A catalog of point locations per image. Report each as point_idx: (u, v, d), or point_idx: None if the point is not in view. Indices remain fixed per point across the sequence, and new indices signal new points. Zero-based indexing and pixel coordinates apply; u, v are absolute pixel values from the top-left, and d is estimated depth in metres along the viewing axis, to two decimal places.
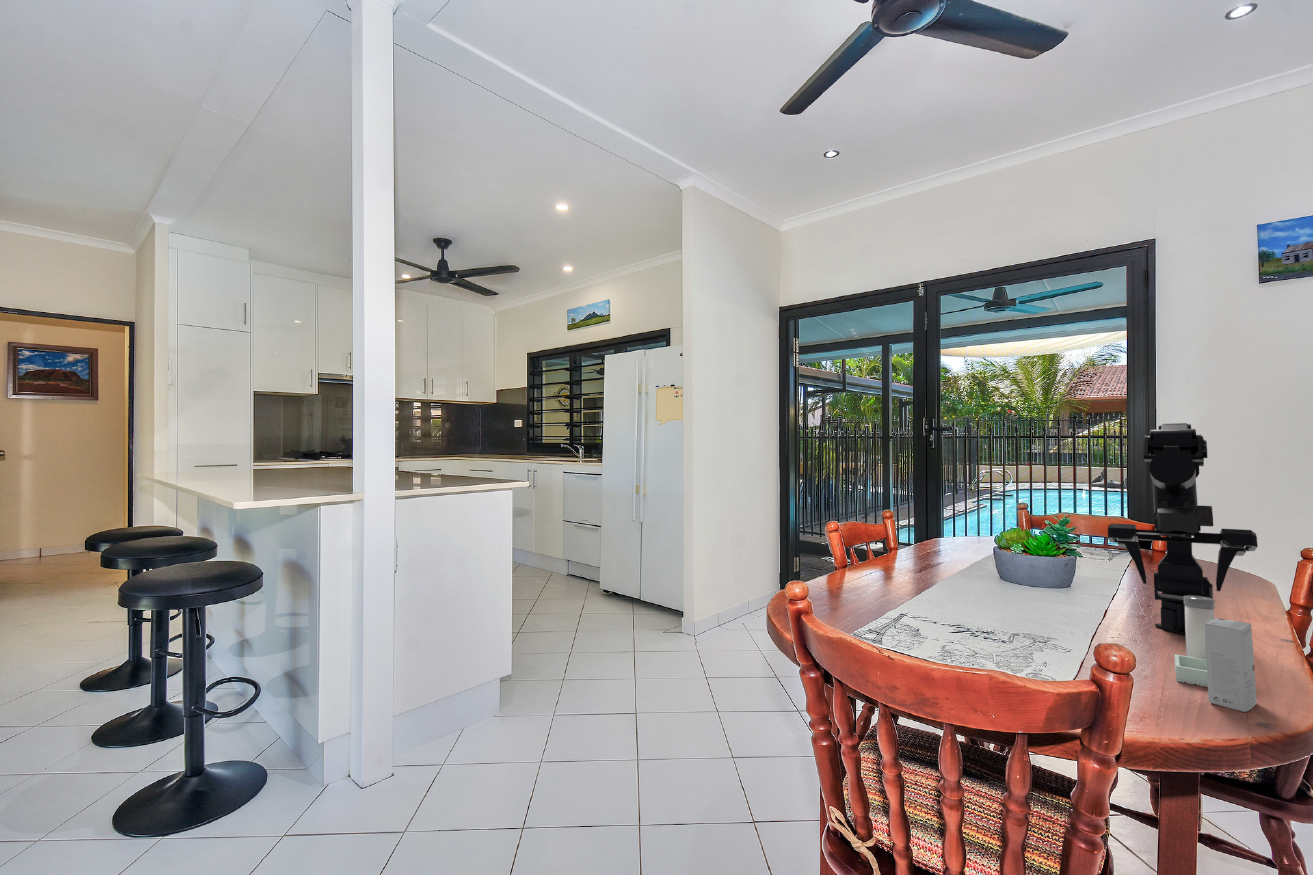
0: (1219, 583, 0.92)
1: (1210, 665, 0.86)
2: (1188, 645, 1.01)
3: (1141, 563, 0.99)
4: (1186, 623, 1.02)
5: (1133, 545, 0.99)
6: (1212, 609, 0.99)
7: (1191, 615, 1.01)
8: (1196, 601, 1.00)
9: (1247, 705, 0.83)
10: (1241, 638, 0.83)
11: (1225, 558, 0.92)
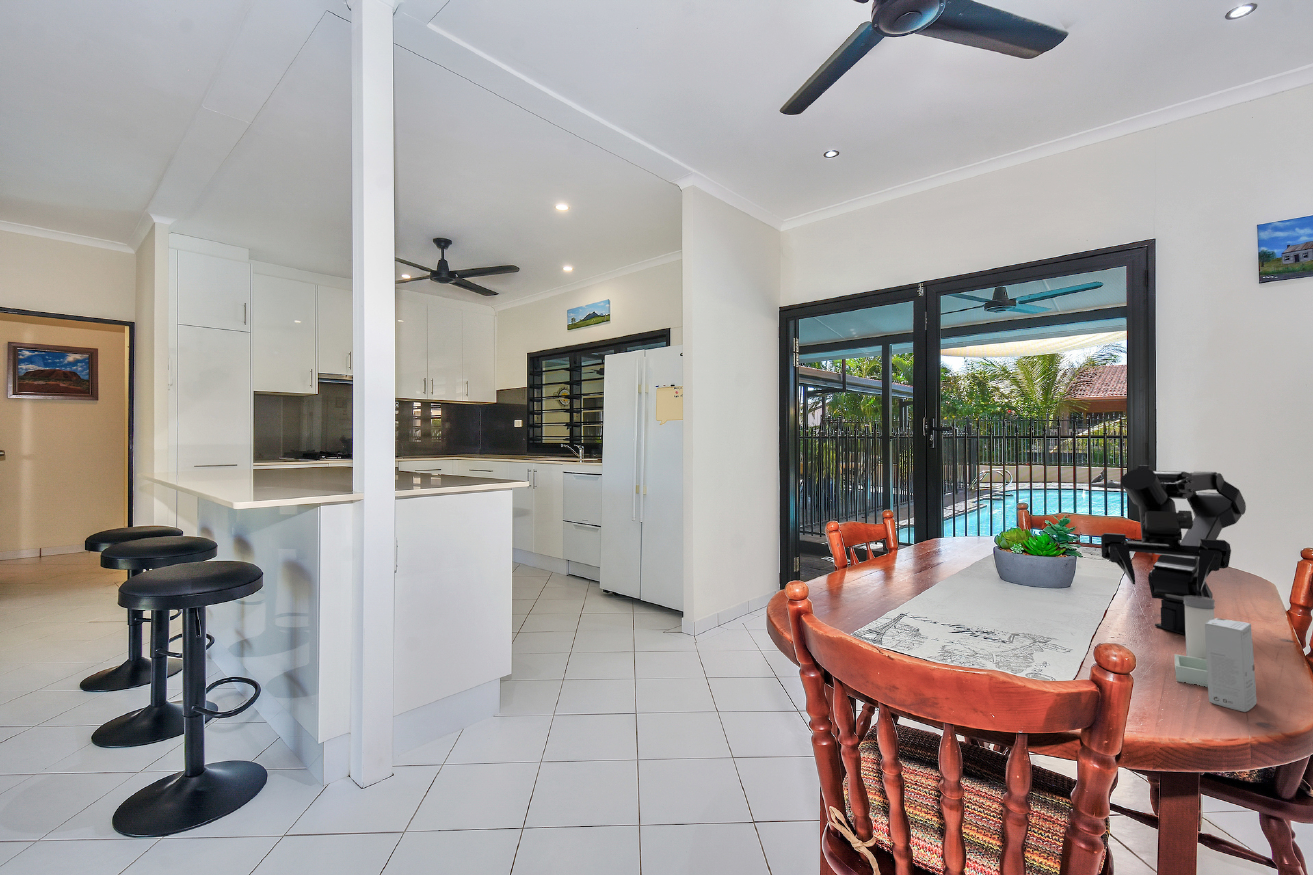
0: (1200, 582, 1.03)
1: (1210, 665, 0.86)
2: (1188, 645, 1.01)
3: (1130, 565, 1.10)
4: (1186, 623, 1.02)
5: (1123, 548, 1.12)
6: (1212, 609, 0.99)
7: (1191, 615, 1.01)
8: (1196, 601, 1.00)
9: (1247, 705, 0.83)
10: (1241, 638, 0.83)
11: (1204, 561, 1.04)
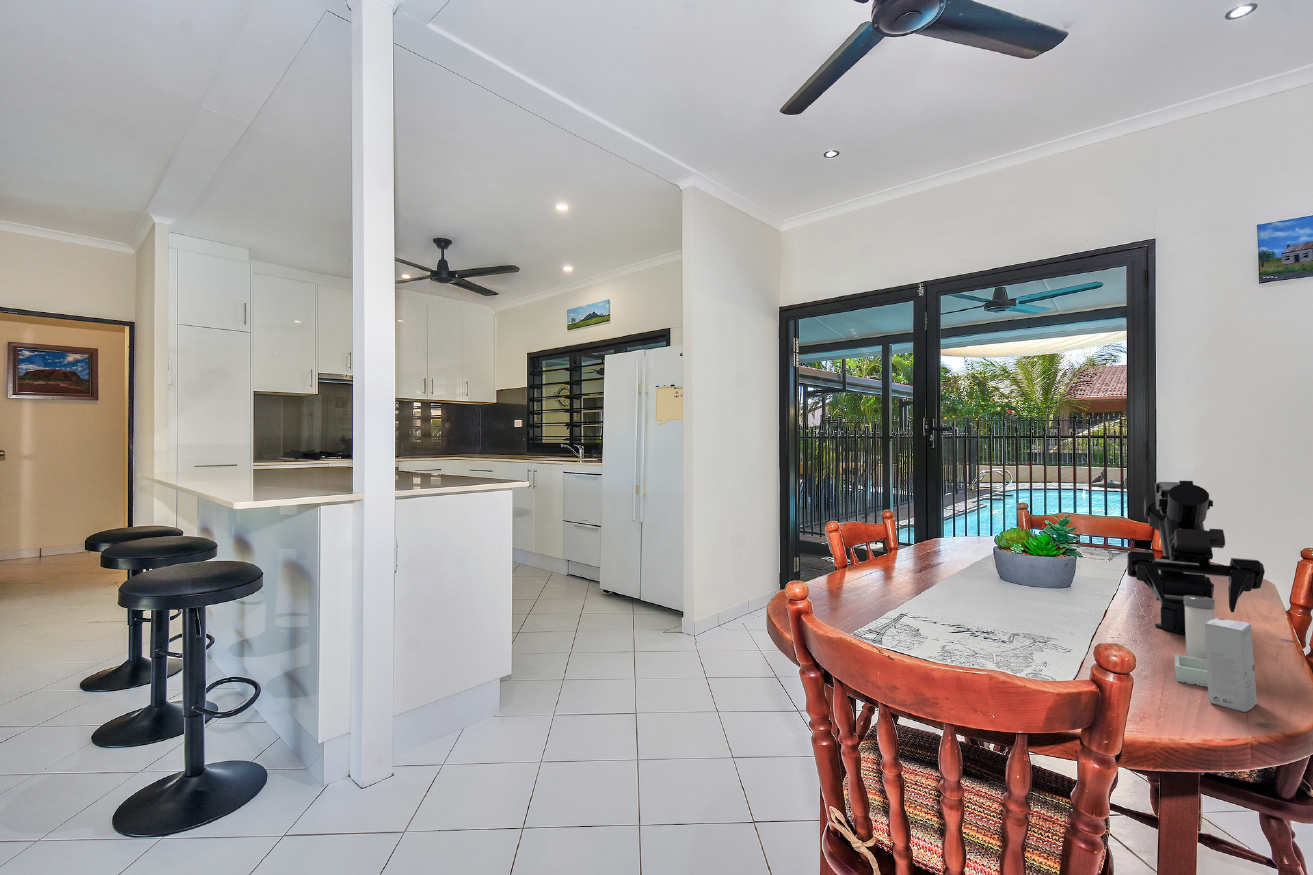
0: (1233, 602, 1.00)
1: (1210, 665, 0.86)
2: (1188, 645, 1.01)
3: (1159, 584, 1.07)
4: (1186, 623, 1.02)
5: (1152, 566, 1.09)
6: (1212, 609, 0.99)
7: (1191, 615, 1.01)
8: (1196, 601, 1.00)
9: (1247, 705, 0.83)
10: (1241, 638, 0.83)
11: (1236, 581, 1.02)
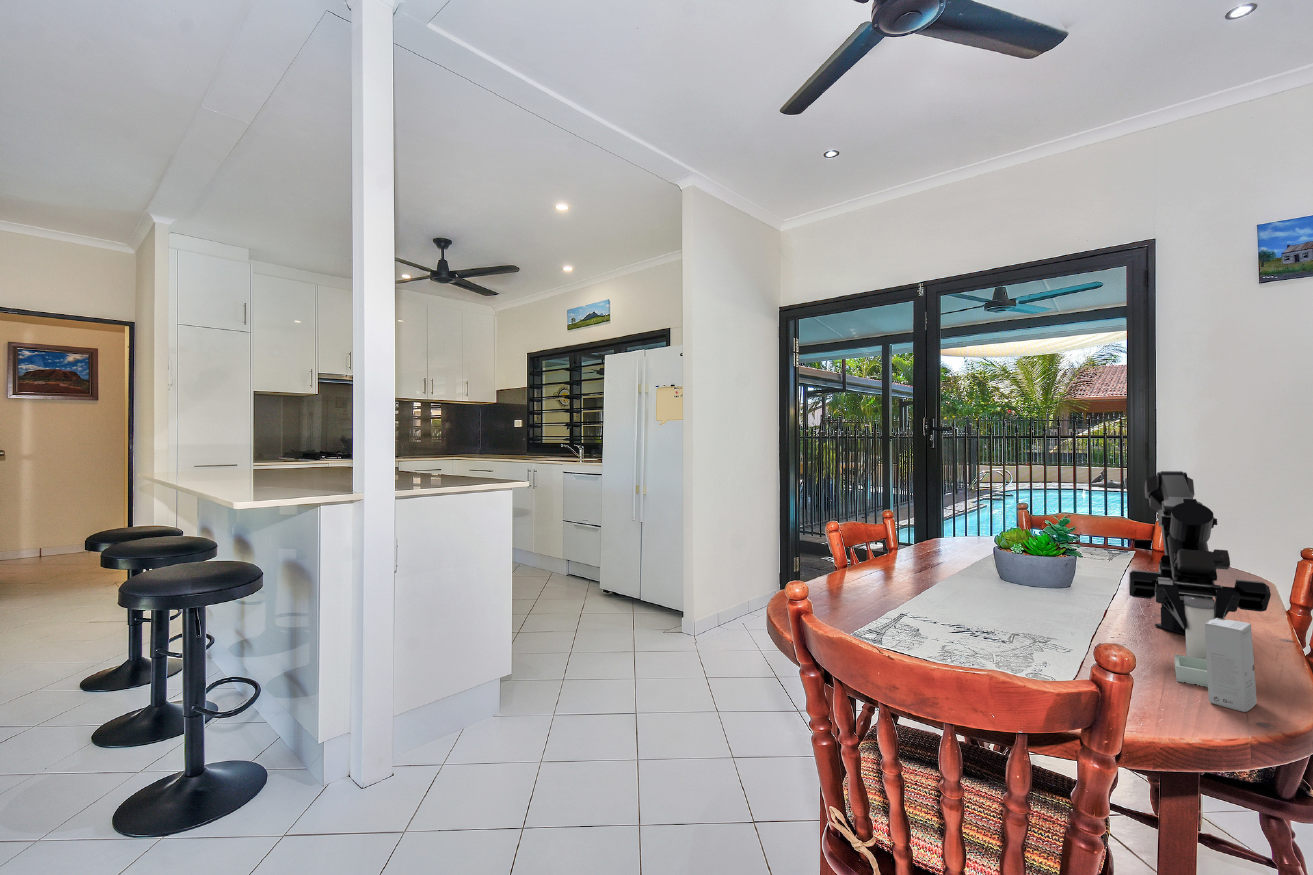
0: None
1: (1210, 665, 0.86)
2: (1188, 645, 1.01)
3: (1181, 608, 1.03)
4: None
5: (1173, 589, 1.04)
6: (1212, 609, 0.99)
7: (1191, 615, 1.01)
8: (1196, 601, 1.00)
9: (1247, 705, 0.83)
10: (1241, 638, 0.83)
11: (1221, 602, 1.00)
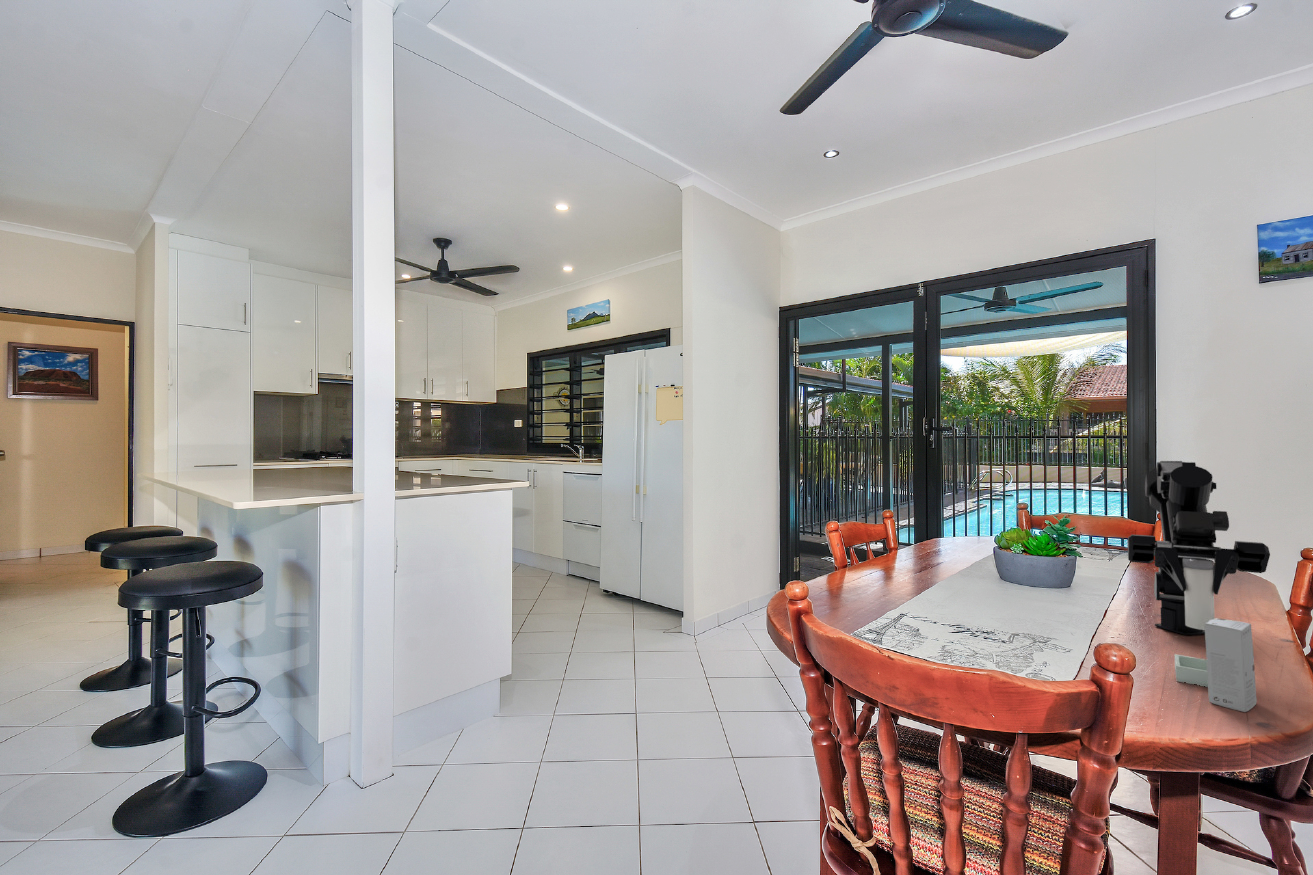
0: (1216, 585, 0.99)
1: (1210, 665, 0.86)
2: (1187, 607, 1.01)
3: (1180, 570, 1.02)
4: None
5: (1171, 552, 1.04)
6: (1211, 570, 0.99)
7: (1190, 576, 1.00)
8: (1195, 562, 1.00)
9: (1247, 705, 0.83)
10: (1241, 638, 0.83)
11: (1220, 563, 1.00)
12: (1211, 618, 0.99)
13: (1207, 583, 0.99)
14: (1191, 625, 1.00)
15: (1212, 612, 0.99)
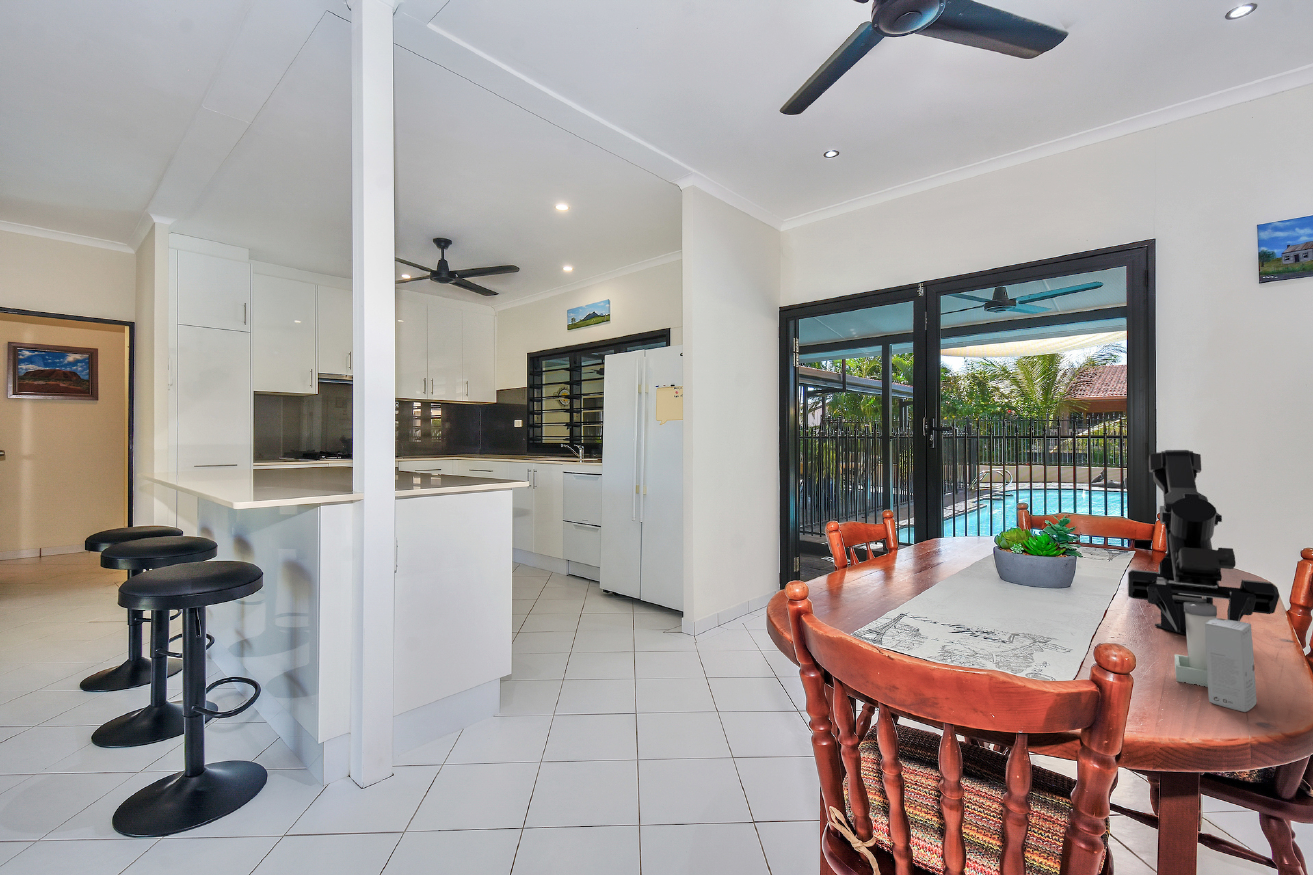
0: None
1: (1210, 665, 0.86)
2: (1190, 655, 0.95)
3: (1174, 609, 0.97)
4: (1187, 631, 0.95)
5: (1165, 589, 0.99)
6: (1214, 616, 0.93)
7: (1192, 623, 0.94)
8: (1197, 608, 0.94)
9: (1247, 705, 0.83)
10: (1241, 638, 0.83)
11: (1236, 605, 0.93)
12: None
13: None
14: None
15: None
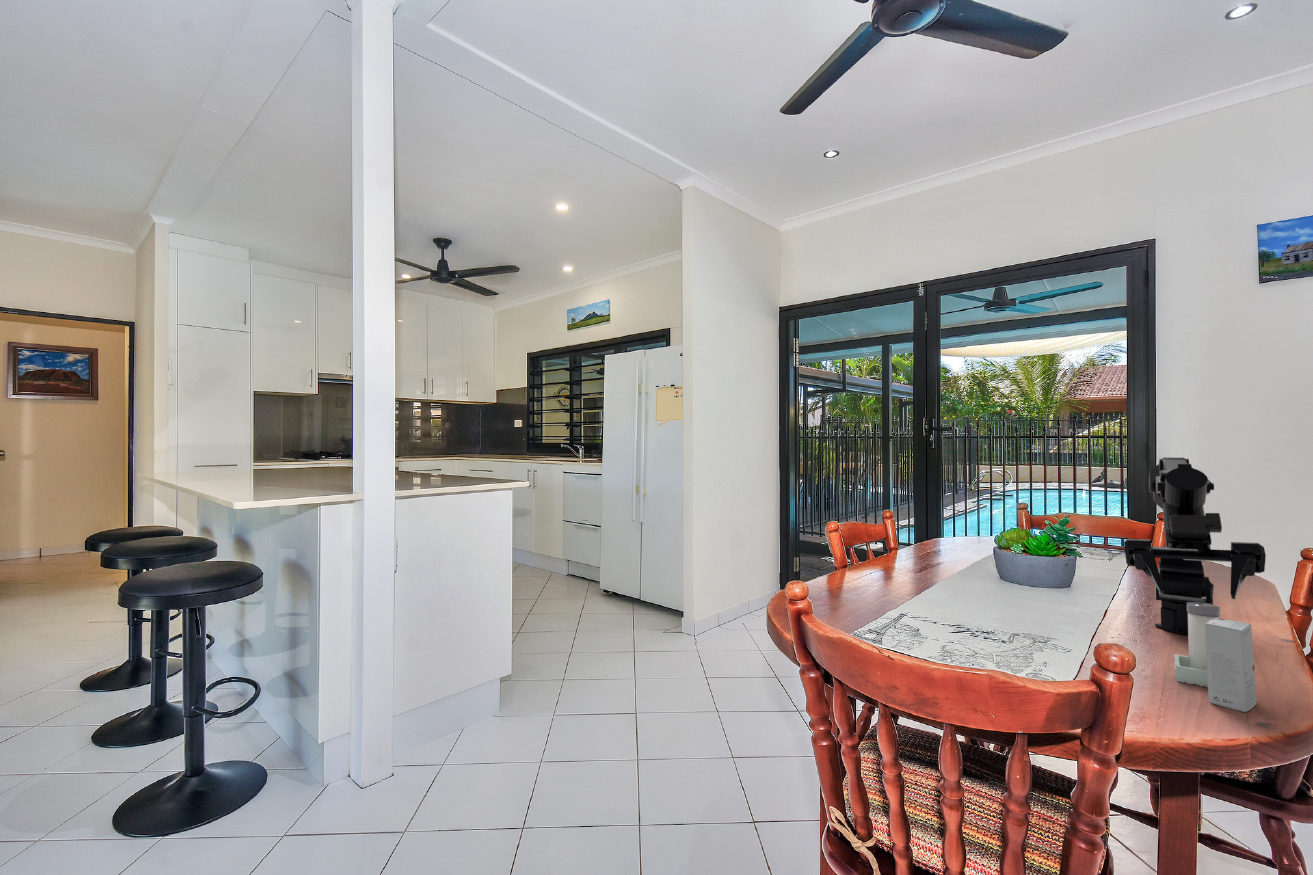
0: (1233, 589, 0.97)
1: (1210, 665, 0.86)
2: (1191, 655, 0.95)
3: (1157, 572, 1.04)
4: (1189, 632, 0.95)
5: (1149, 555, 1.05)
6: (1217, 617, 0.93)
7: (1194, 623, 0.94)
8: (1200, 608, 0.94)
9: (1247, 705, 0.83)
10: (1241, 638, 0.83)
11: (1237, 566, 0.98)
12: None
13: None
14: None
15: None
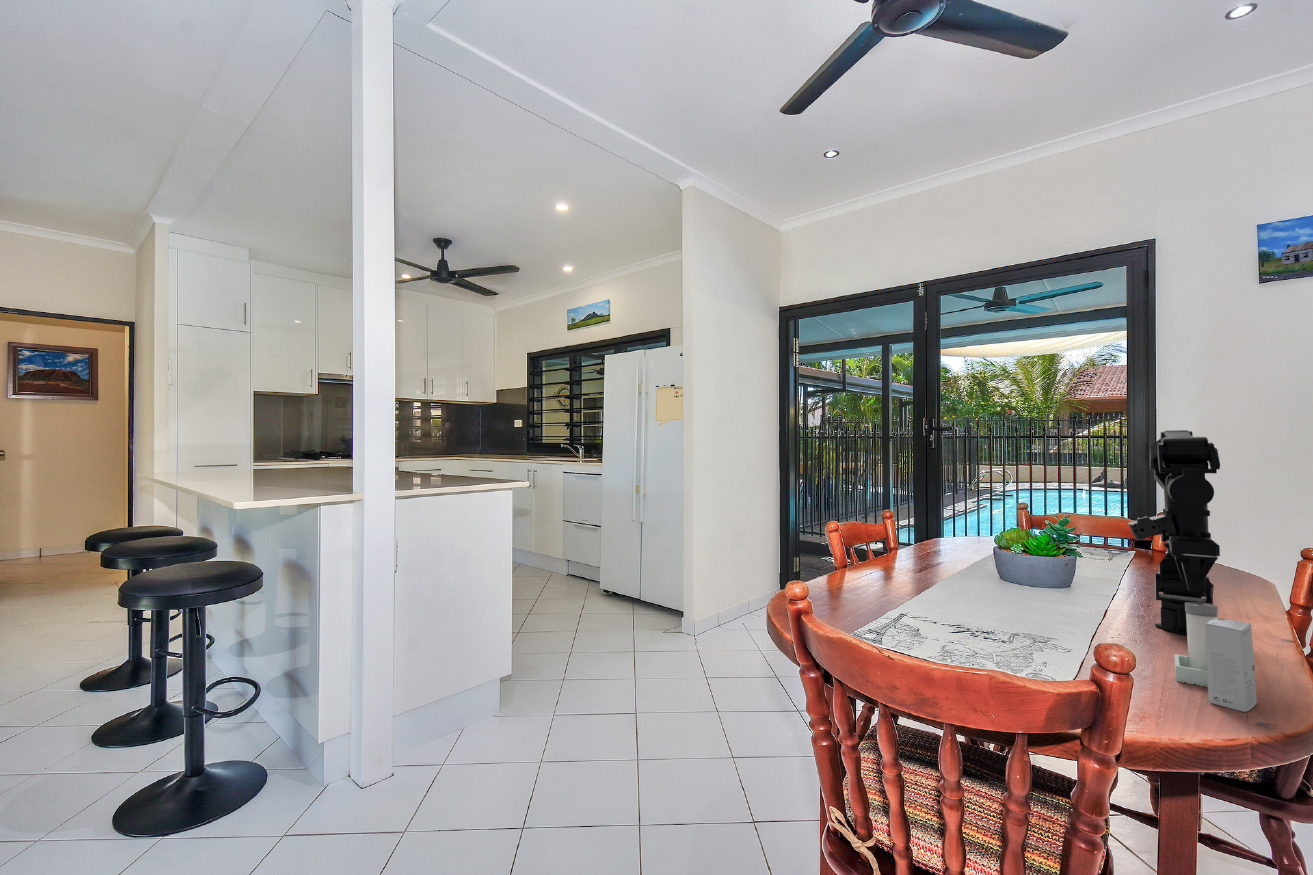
0: (1187, 584, 1.02)
1: (1210, 665, 0.86)
2: (1190, 655, 0.95)
3: (1176, 563, 1.10)
4: (1188, 632, 0.95)
5: None
6: (1215, 616, 0.93)
7: (1193, 623, 0.94)
8: (1198, 608, 0.94)
9: (1247, 705, 0.83)
10: (1241, 638, 0.83)
11: (1181, 562, 1.02)
12: None
13: None
14: None
15: None
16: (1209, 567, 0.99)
